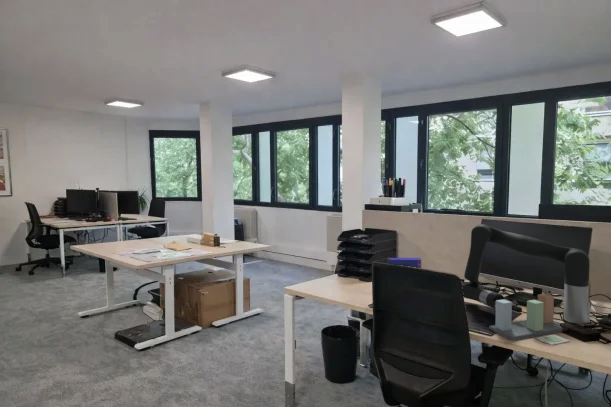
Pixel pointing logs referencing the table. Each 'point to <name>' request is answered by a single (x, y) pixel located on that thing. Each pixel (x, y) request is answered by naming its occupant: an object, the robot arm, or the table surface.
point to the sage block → (535, 315)
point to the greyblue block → (503, 314)
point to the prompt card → (553, 339)
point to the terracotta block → (547, 307)
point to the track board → (526, 330)
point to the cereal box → (405, 262)
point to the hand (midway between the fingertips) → (520, 310)
